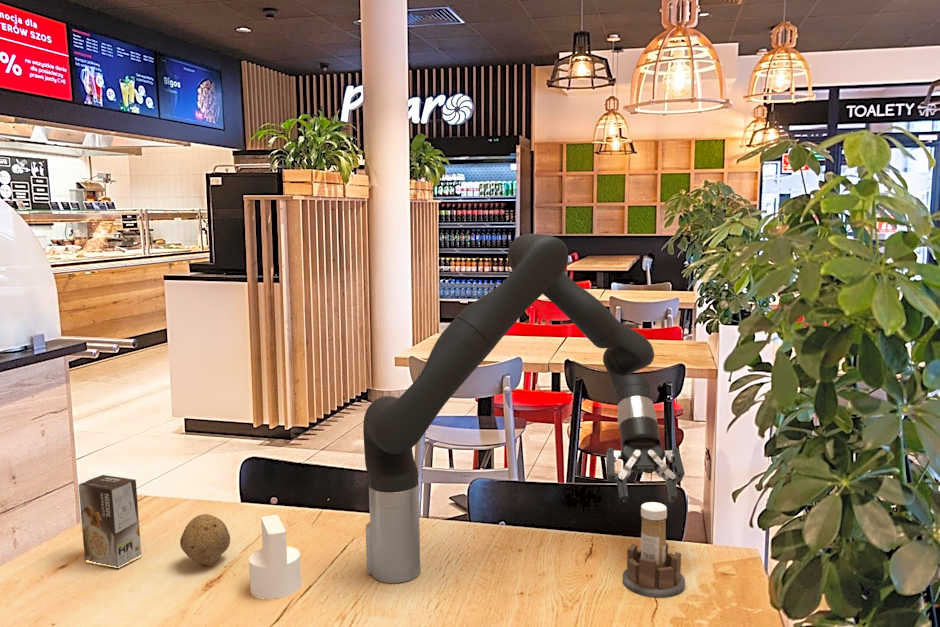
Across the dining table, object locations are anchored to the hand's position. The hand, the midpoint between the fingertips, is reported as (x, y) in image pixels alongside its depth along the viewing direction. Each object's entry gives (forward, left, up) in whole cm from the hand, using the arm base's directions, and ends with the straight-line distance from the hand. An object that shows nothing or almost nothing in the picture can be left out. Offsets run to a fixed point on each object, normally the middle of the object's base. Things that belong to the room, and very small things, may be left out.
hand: (649, 501), depth 144 cm
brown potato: (-77, -36, -14) cm, 86 cm away
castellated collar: (+2, -4, -14) cm, 14 cm away
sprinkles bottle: (+2, -4, -13) cm, 14 cm away
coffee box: (-95, -43, -14) cm, 105 cm away
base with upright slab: (-58, -37, -14) cm, 70 cm away
